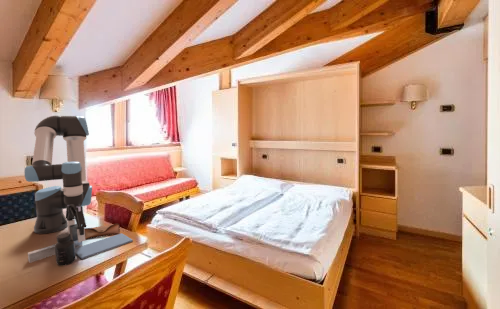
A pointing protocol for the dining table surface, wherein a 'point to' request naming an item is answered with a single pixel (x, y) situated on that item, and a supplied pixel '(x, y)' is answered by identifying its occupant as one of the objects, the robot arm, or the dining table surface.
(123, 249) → the dining table surface
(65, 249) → the supplement bottle
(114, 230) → the sunglasses case
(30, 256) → the grey mallet
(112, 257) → the dining table surface
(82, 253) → the mat
